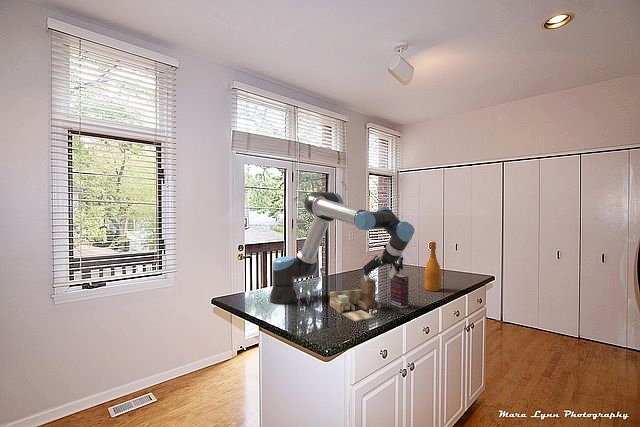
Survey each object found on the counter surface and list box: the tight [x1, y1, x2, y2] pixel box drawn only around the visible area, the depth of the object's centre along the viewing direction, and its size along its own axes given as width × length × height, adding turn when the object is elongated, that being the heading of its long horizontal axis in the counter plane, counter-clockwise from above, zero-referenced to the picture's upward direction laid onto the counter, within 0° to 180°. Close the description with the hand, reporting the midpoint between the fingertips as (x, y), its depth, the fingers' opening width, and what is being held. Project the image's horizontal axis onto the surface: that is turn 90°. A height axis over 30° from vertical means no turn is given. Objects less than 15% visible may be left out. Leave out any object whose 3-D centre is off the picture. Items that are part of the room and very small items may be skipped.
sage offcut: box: [337, 295, 349, 304], centre depth 172 cm, size 4×5×3 cm
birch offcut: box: [343, 303, 351, 312], centre depth 172 cm, size 4×7×4 cm, turn 19°
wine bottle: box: [423, 241, 442, 292], centre depth 211 cm, size 10×10×30 cm
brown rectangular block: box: [360, 277, 377, 310], centre depth 176 cm, size 4×8×14 cm, turn 18°
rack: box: [329, 288, 381, 314], centre depth 174 cm, size 24×14×7 cm, turn 108°
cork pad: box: [341, 309, 376, 322], centre depth 160 cm, size 11×11×1 cm
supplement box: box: [390, 273, 409, 309], centre depth 177 cm, size 9×5×16 cm, turn 29°
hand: (377, 277), depth 166 cm, fingers open, 13 cm apart
